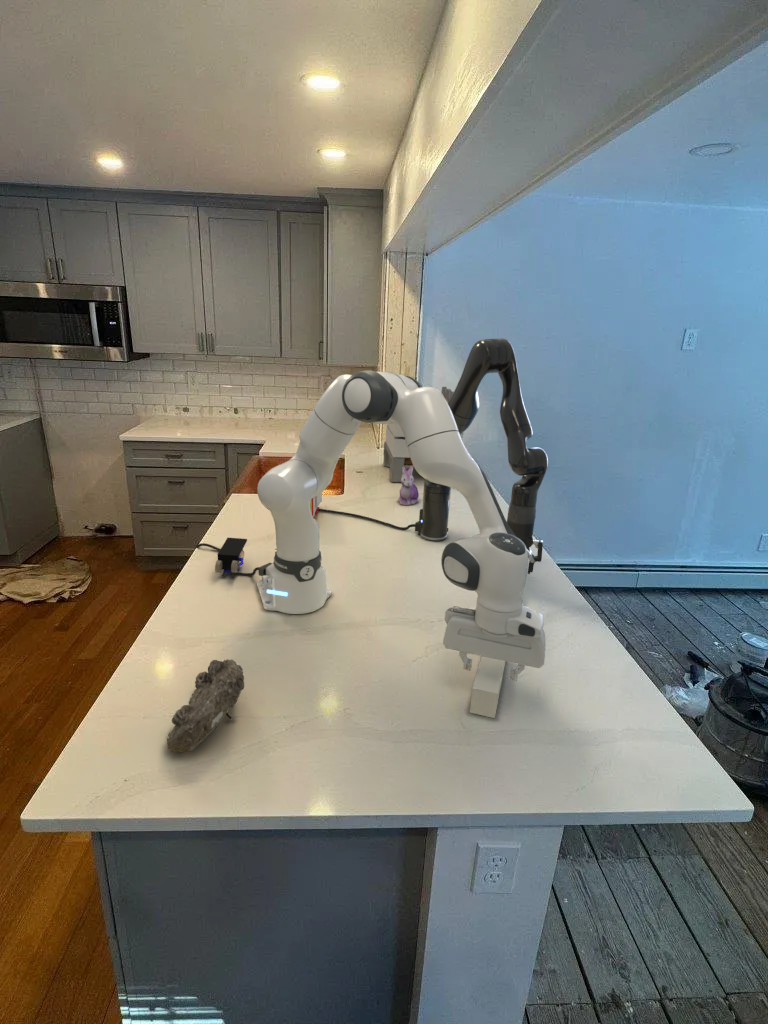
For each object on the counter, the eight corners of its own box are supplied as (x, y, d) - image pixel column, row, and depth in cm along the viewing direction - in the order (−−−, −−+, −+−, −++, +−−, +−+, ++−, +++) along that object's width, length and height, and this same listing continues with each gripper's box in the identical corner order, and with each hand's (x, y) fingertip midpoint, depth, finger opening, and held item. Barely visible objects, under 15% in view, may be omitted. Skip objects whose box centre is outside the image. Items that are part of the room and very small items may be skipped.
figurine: (404, 507, 227) (406, 470, 222) (392, 499, 235) (393, 464, 230) (424, 504, 231) (426, 468, 226) (411, 496, 239) (413, 462, 234)
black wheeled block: (238, 584, 162) (249, 557, 175) (236, 562, 158) (247, 536, 172) (215, 584, 161) (227, 556, 175) (212, 561, 158) (225, 535, 171)
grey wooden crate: (382, 463, 289) (386, 382, 275) (445, 464, 293) (451, 384, 279) (390, 482, 257) (394, 392, 243) (460, 483, 261) (468, 394, 247)
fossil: (192, 660, 117) (244, 628, 112) (224, 691, 120) (276, 661, 115) (142, 746, 98) (202, 712, 93) (182, 779, 101) (242, 748, 96)
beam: (505, 572, 174) (507, 555, 172) (521, 575, 172) (524, 557, 171) (469, 712, 112) (472, 688, 110) (494, 718, 111) (498, 693, 109)
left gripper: (442, 611, 112) (437, 671, 116) (549, 632, 106) (539, 694, 111) (449, 597, 117) (443, 654, 122) (551, 616, 112) (541, 675, 116)
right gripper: (493, 518, 157) (487, 571, 163) (546, 526, 154) (538, 580, 159) (497, 510, 164) (490, 561, 170) (547, 517, 160) (539, 569, 166)
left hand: (490, 673), depth 116 cm, fingers open, 8 cm apart
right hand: (513, 570), depth 164 cm, fingers open, 8 cm apart
